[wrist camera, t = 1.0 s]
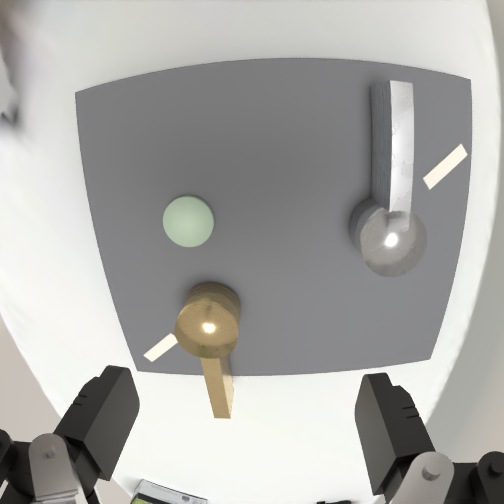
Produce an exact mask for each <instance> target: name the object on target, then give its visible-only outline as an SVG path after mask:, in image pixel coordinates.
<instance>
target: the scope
mask: <svg viewBox="0 0 504 504" xmlns="http://www.w3.org/2000/svg"><path fill="white" fill-rule="evenodd" d="M317 504H325V502H323V503H319V502H317ZM327 504H351V501H340V502H335V503H327Z"/></svg>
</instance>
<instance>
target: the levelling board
mask: <svg viewBox="0 0 504 504" xmlns="http://www.w3.org/2000/svg"><path fill="white" fill-rule="evenodd" d="M390 80H391V81H400V82H407V83H413V103H414V161H413V182H412V197H411V209H410V211H411V212H412V213H414V214H415V215H416V216H417V217H419V218H420V220H421V221H422V222H423V224H424V226H425V228H426V232H427V246H426V250H425V253H424V255H423V257H422V259H421V260H420V262H419V263H418V264H417V265H416V266H415V267H414V268H413V269H412V270H410V271H409V272H407V273H406V274H404V275H401V276H397V277H383V276H380V275H378V274H376V273H374V272H373V271H372V270H371V269H370V268H369V267H368V265H367V263H366V262H365V260H364V259H363V257H362V256H361V254H360V252H359V251H358V249H357V248H356V246H355V245H354V243H353V241H352V239H351V236H350V231H349V225H350V220H351V217H352V214H353V212H354V211H355V209H356V208H357V207H358V206H359V205H360V204H361V203H362V202H363V201H365V200H366V199H368V198H371V187H372V107H371V85H375V84H379V83H382V82H386V81H390ZM75 99H76V113H77V124H78V134H79V142H80V151H81V158H82V165H83V172H84V178H85V184H86V190H87V196H88V201H89V206H90V211H91V216H92V221H93V226H94V230H95V235H96V239H97V243H98V248H99V252H100V256H101V260H102V263H103V267H104V271H105V275H106V278H107V282H108V285H109V289H110V292H111V296H112V299H113V302H114V306H115V309H116V312H117V315H118V318H119V321H120V324H121V327H122V330H123V333H124V336H125V339H126V342H127V345H128V347H129V350H130V353H131V355H132V358H133V361H134V363H135V366H136V369H137V371H141V372H153V373H167V374H184V375H204V372H203V368H202V364H201V359H200V357H197V356H194V355H192V354H190V353H189V352H187V351H186V350H184V349H183V348H182V347H181V346H180V344H179V343H178V341H177V339H176V337H175V333H174V327H175V324H176V321H177V319H178V316H179V314H180V311H181V309H182V306H183V304H184V302H185V299H186V297H187V295H188V293H189V292H190V290H192V289H193V288H194V287H195V286H197V285H200V284H203V283H217V284H221V285H224V286H226V287H228V288H229V289H231V290H232V291H233V292H234V293H235V294H236V295H237V297H238V299H239V301H240V304H241V315H240V323H239V331H238V338H237V343H236V346H235V348H234V349H233V350H232V351H231V352H230V353H229V354H228V355H229V362H230V369H231V375H232V376H272V375H297V374H314V373H328V372H340V371H350V370H360V369H369V368H377V367H384V366H392V365H399V364H405V363H412V362H418V361H423V360H429V359H430V358H431V355H432V352H433V349H434V346H435V344H436V341H437V337H438V334H439V331H440V328H441V325H442V322H443V318H444V315H445V311H446V308H447V304H448V300H449V297H450V293H451V289H452V285H453V280H454V276H455V272H456V267H457V263H458V258H459V253H460V247H461V242H462V236H463V230H464V224H465V217H466V210H467V201H468V193H469V182H470V170H471V153H472V95H471V80H470V79H466V78H463V77H458V76H454V75H450V74H445V73H441V72H436V71H431V70H425V69H420V68H414V67H408V66H401V65H394V64H387V63H378V62H369V61H357V60H344V59H323V58H274V59H253V60H239V61H227V62H217V63H209V64H201V65H194V66H187V67H180V68H174V69H168V70H163V71H158V72H153V73H148V74H143V75H138V76H134V77H130V78H125V79H121V80H117V81H113V82H110V83H106V84H102V85H99V86H95V87H92V88H88V89H85V90H82V91H78V92H75Z"/></svg>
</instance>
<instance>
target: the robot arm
mask: <svg viewBox="0 0 504 504" xmlns="http://www.w3.org/2000/svg"><path fill="white" fill-rule="evenodd" d="M139 405H140V403H139V397H138V394H137V391H136V387H135V384H134V381H133V378H132V374H131V371H130V370H129V368H125V367H118V366H112V365H108V366H107V367H106V368H105V369H104V371H103V372H102V374H101V375H100V377H94V378H93V379H91V380H90V381H89V382H87V383H86V384H85V385H84V386H83V388H82V389H81V391H80V392H79V394H78V396H77V397H76V398H75V400H74V401H73V404H71V406H70V407H69V409H68V410H67V412H66V413H65V415H64V417H63V418H62V420H61V421H60V423H59V424H58V426H57V428H56V429H55V431H54V432H53V433H52V434H51V433H48V434H42V435H40V436H38V437H36V438H35V439H34V440H33V441H32V442H19V441H13V440H12V439H11V438H10V436H9V435H8V434H7V432H5V431H4V430H1V429H0V487H1V485H2V484H3V481H4V480H6V481H7V482H8V485H7V487H6V489H5V491H4V493H3V495H2V497H1V499H0V504H103V502H102V500H101V497H100V495H99V492H98V489H97V487H96V485H95V484H96V481H97V479H98V478H100V479H103V480H106V481H110V478H111V476H112V474H113V471H114V469H115V466H116V464H117V462H118V459H119V457H120V454H121V452H122V450H123V447H124V445H125V443H126V440H127V438H128V436H129V433H130V431H131V429H132V426H133V424H134V422H135V420H136V417H137V415H138V412H139ZM355 422H356V426H357V429H358V433H359V437H360V441H361V445H362V450H363V454H364V458H365V462H366V466H367V471H368V475H369V479H370V484H371V488H372V493H373V496H375V495H380V494H384V496H385V501H386V502H385V503H384V504H504V453H502V452H497V451H495V452H494V451H493V452H489V453H487V454H485V455H484V456H483V457H482V458H481V459H480V461H479V462H478V463H454V462H451V460H450V459H449V458H448V457H447V456H445V455H444V454H442V453H439V452H436V451H435V449H434V447H433V444H432V442H431V440H430V437H429V435H428V433H427V431H426V428H425V426H424V424H423V421H422V419H421V417H419V413H418V411H417V408H415V404H414V402H413V400H412V398H411V396H410V394H409V393H408V392H407V391H406V390H404V389H403V388H402V387H401V386H400V385H399V386H392V383H391V381H390V379H389V377H388V375H387V373H376V374H365V375H364V376H363V378H362V382H361V386H360V390H359V394H358V397H357V401H356V405H355Z"/></svg>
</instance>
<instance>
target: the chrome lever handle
mask: <svg viewBox="0 0 504 504" xmlns="http://www.w3.org/2000/svg"><path fill="white" fill-rule="evenodd" d="M371 107H372V187H371V198H368V199H366V200H365V201H363V202H362V203H361V204H360V205H359V206H358V207H357V208H356V209H355V211H354V212H353V214H352V217H351V220H350V225H349V231H350V236H351V239H352V241H353V243H354V245H355V246H356V248H357V249H358V251H359V252H360V254H361V256H362V257H363V259H364V260H365V262H366V263H367V265H368V267H369V268H370V269H371V270H372V271H373V272H374V273H376V274H378V275H380V276H383V277H397V276H401V275H404V274H406V273H407V272H409V271H410V270H412V269H413V268H414V267H415V266H416V265H417V264H418V263H419V262H420V260H421V259H422V257H423V255H424V253H425V250H426V246H427V232H426V228H425V226H424V224H423V222H422V221H421V220H420V218H419V217H417V216H416V215H415V214H414V213H412V212H411V211H410V209H411V197H412V182H413V161H414V103H413V83H407V82H400V81H391V80H390V81H386V82H382V83H379V84H375V85H371Z"/></svg>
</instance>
